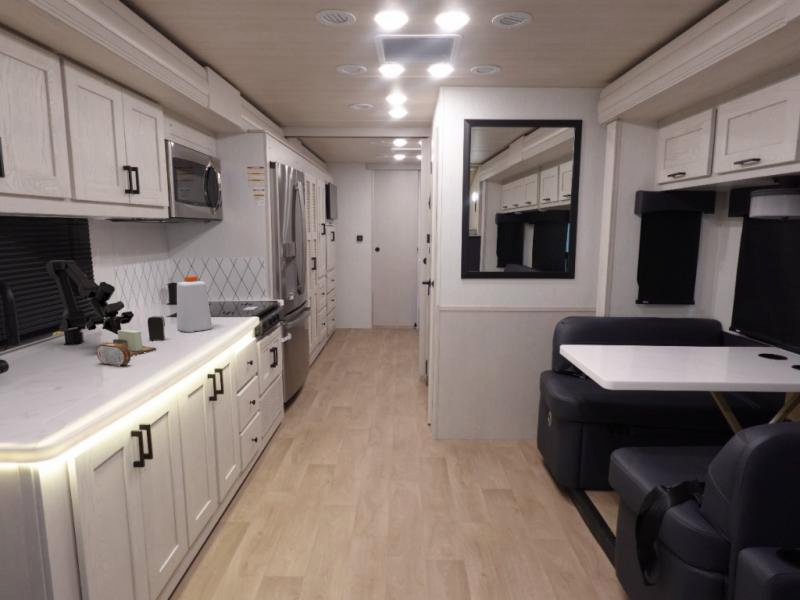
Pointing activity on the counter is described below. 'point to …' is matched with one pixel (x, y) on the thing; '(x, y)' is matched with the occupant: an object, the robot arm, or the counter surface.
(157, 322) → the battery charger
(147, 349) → the wooden channel stand
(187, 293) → the plastic bottle
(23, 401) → the counter surface
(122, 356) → the tin
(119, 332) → the bar
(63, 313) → the robot arm
